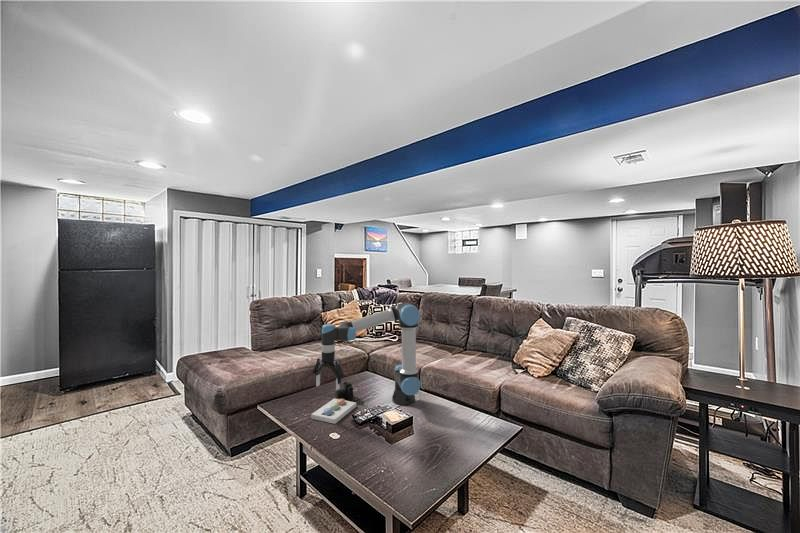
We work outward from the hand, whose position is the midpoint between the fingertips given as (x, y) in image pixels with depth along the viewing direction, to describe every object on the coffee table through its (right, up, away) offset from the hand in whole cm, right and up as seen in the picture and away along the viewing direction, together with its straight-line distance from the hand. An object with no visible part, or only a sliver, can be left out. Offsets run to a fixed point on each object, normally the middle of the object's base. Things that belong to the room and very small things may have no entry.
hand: (327, 387), depth 194 cm
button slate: (0, -16, -1) cm, 16 cm away
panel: (+3, -17, +6) cm, 18 cm away
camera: (+5, -17, +26) cm, 31 cm away
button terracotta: (+5, -15, +12) cm, 20 cm away
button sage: (+3, -16, +6) cm, 17 cm away
